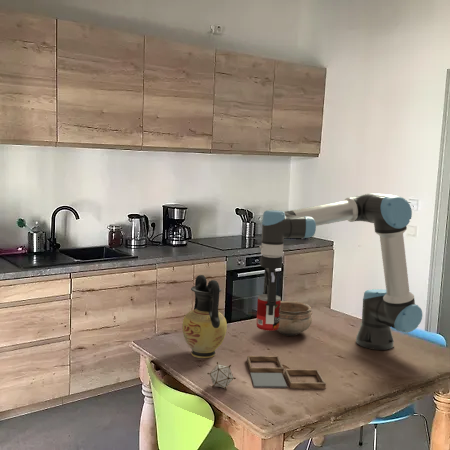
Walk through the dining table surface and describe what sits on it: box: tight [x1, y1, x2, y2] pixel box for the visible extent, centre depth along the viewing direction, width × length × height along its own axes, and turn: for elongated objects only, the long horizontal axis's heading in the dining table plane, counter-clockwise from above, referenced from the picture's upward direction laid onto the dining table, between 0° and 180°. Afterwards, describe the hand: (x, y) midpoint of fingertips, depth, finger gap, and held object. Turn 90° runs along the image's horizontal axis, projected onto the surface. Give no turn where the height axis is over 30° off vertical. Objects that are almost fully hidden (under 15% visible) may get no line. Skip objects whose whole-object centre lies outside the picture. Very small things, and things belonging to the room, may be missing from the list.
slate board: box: [250, 373, 288, 389], centre depth 185 cm, size 11×11×1 cm
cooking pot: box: [276, 300, 313, 337], centre depth 236 cm, size 25×19×12 cm
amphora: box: [182, 274, 228, 359], centre depth 206 cm, size 18×17×30 cm
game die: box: [207, 361, 236, 391], centre depth 178 cm, size 9×8×10 cm
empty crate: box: [283, 368, 327, 390], centre depth 186 cm, size 12×12×2 cm
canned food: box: [256, 293, 282, 332], centre depth 188 cm, size 8×8×11 cm
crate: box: [246, 355, 285, 374], centre depth 198 cm, size 12×12×2 cm
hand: (268, 319), depth 189 cm, fingers closed on canned food, 8 cm apart
